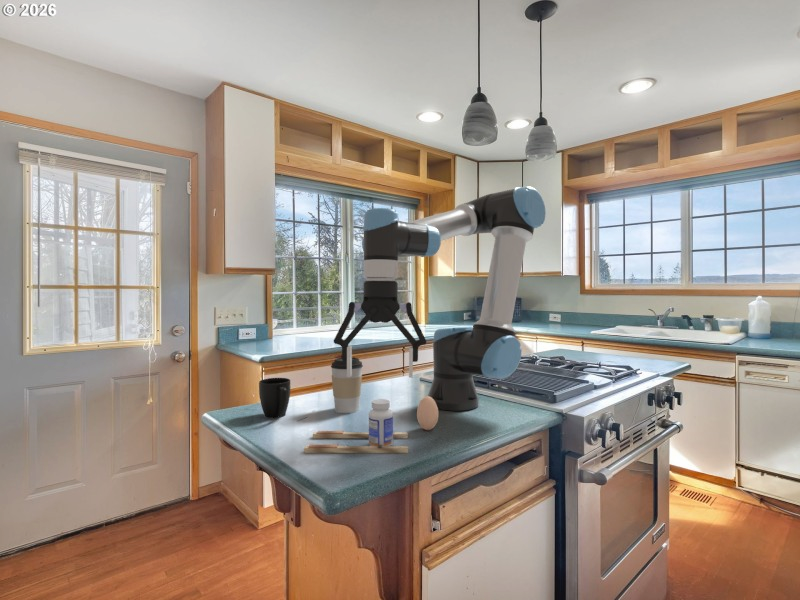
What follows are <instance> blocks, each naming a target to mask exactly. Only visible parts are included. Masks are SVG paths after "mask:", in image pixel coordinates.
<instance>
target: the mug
mask: <svg viewBox="0 0 800 600" xmlns="http://www.w3.org/2000/svg"><path fill="white" fill-rule="evenodd" d="M258 393H259V401H260V406H261V409H262V412H263V415H264V418H266V419H280V418H283V417H285V416H286V415H287V411H288V406H289V403H290V397H291V379H290V378H287V377H268V378H264V379H261V380H259V382H258Z"/></svg>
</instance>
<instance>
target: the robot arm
mask: <svg viewBox="0 0 800 600" xmlns="http://www.w3.org/2000/svg"><path fill="white" fill-rule="evenodd" d="M546 215H547V213H546V205H545V201H544V200H543V197H542V194H540V192H539V191H538V190H537V189H536V188H534V187H532V186H527V185H526V186H522V187H519V186H517V187H515V188H512V189H507V190H503V191H498V192H494V193H490V194H489V193H488V194H486V195H483V196H480V197H477V198H475V199H473V200H470V201H467V202H465V203H461V204H459V205H457V206H455V208H454V209H452V210H448V211H445V212H440V213H437V214H434V215H433V214H432V215H430V216H426V217H422V218H418V219H415V220H411V221H406V222H405V221H401V220H400V218H399V213H398V211H397V210H396V209H393V208H389V207H388V208H387V207H375V208H370V209H368V210H366V211H365V213H364V216H363V229H362V231H363V238H362V242H361V247H362V251H363V278H364V279H365V280H366V281H364V282H363V295H362V296H363V297H362V298H363V300H362V303H359V302H355V301H351V302H349V303H348V309H347V313H346V315H345V317H344V319H343V321H342V323H341V325H340V327H339V329H338V331H337V333H336V334H335V336H334V339H333V343H334V345H339V346H340V347H341V357H342V360H343V361H347V377H351V375H352V357H353V351H352V350H353V345H350V343H351V342H352V341H353V340H354V338H356V336H357V335H358V333H360V331H361V330H362V329H363V328H364V327H365V326H366V324H367V323H368V322H369V321H370V322H371V323H375V324H376V323H383V324H384V323H385V324H387V323H389V322H392V323H393V325H394V326H395V327H396V328H397V329H398V330H399V331H400V332H401V334H402V335H403V336H404V338H406V340H407V341H408V342H409V344H411V346H409V348H408V359H409V360H408V377H409V378H410V379H411V378H413V376H414V374H413V370H414V369H413V367H414V363H417V362H418V361H419V347H421V346H424V345H426V344H427V340H426V338H425V335H424V333H423V331H422V329H421V327H420V325H419V323H418V321H417V319H416V317H415V315H414V313H413V307H412V303H411V302H409V301H408V302H404V303H399V300H398V297H399V296H398V294H399V293H398V292H399V291H398V289H399V288H398V287H399V286H398V285H399V284H398V282H397V281H396V279H398V278H399V277H398V275H399V271H398V269H399V268H398V267H399V258H405V257H406V258H408V257H421V258H425V257H433V256H435V255H436V254H437V253H438V252H439V250H440V247H441V242H442V241H446V240H447V239H448V240H449V239H451V238H455V237H458V236H463V237H470V236H472V235H478V234H491V235H492V236H493V237H494V244H493V248H492V253H491V258H490V259H491V260H490V265H489V270H488V275H487V281H486V285H485V286H486V287H485V290H484V291H485V292H484V296H483V300H482V307H481V312H480V318H479V319H478V320H477V321H475V322H473V325H472V326H460V327H459V326H458V327H447V328H438V329H435V331H434V334H433V341H432V343H433V344H432V346H433V347H432V349H433V350H432V352H433V378H432V382H431V385H430V388H429V391H428V394H427V396H429V397H431V398H433V399H434V401H435V402H436V405H437V408H438V410H443V411H451V412H452V411H453V412H455V411H460V412H461V411H470V410H473V409H476V408H478V407H479V395H478V394H479V393H478V391H477V388H476V386H475V385H476V384H475V381H474V376H473V375H477V376H481V377H486V378H489V379H500V380H502V379H505V378H508V377H510V376H511V375H512V374H513V373H515V371H516V369H518V366H519V364H520V361H521V359H522V354H523V353H522V350H523V349H522V347H521V343H520V341H519V339H518V338H517V337H516V330H515V329H514V327H513V325H512V322H513V316H514V312H515V311H514V310H515V306H516V301H517V300H516V299H517V294H518V291H519V290H518V289H519V284H520V283H519V282H520V278H521V272H522V267H523V261H524V255H525V251H526V244H527V242H529V241H530V240H532V239H533V237H534V232H535V231H534V230H535V229H538V228H539V227H541V226H542V225H543V224H544V222H545V220H546ZM359 309H361V310H362V311H363V313H364V314H365V316H363V318H362V319H361V320H360V321H359V322H358V324H357V325H356V326H355V327H354V328H353V330H351V332H350V333H349V334H348V335H347V336H346V337H345V339H343V337H344V336H345V333H346V331H347V329H348V327H349V325H350V323H351V321H352V319H353V317H354V314H355V313H357V312H358V311H359ZM400 309H401V310H402V312H403V313H404V314H405V313H406V314H407V318H408V319H409V321H410V323H411V325H412V327H413V330H414V332H415V334H416V335H417V337H418V339H416V338H415V337H414V336H413V335H412V334H411V332H410V331H409V330H408V329H407V328H406V326H405V325H404V324H403V323H402V321H400V319H399V318H398V317H397V316H396V315H397V313H398V312H399V310H400Z"/></svg>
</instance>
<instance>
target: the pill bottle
mask: <svg viewBox="0 0 800 600" xmlns="http://www.w3.org/2000/svg"><path fill="white" fill-rule="evenodd" d="M390 403H391V402H390V400H389V399H386V398H376V399H372V401H371V410H370V411H369V412H368V432H369V438H368V444H369V445H368V446H378V445H382V446H393V444H394V438H393V432H394V413H393V410H392V409H390V407H391V404H390Z"/></svg>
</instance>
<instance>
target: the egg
mask: <svg viewBox="0 0 800 600" xmlns="http://www.w3.org/2000/svg"><path fill="white" fill-rule="evenodd" d="M416 418H417V422H418V424H419V426H420V427H421V429H424V430H426V431H430V430H432V429H433V428H434V427H435V426H436V425H437V423H438V420H439V409H438V408H437V405H436V402H435V401H434V399H433V398H431V397H429V396H428V395H427V396H424V397H423V398H421V400H420V401H419V404H418V405H417V410H416Z"/></svg>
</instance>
